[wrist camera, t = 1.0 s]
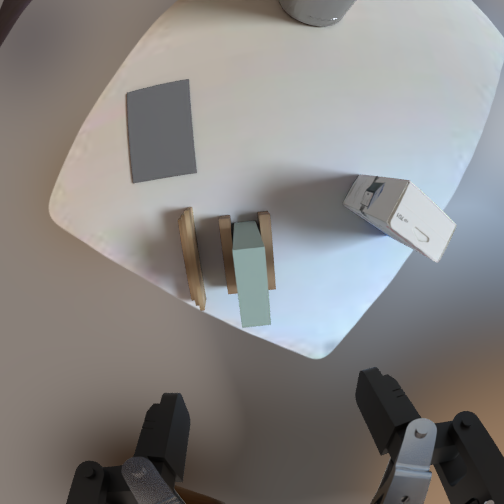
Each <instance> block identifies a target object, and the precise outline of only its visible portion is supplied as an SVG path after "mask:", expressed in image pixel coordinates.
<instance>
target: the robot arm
mask: <svg viewBox="0 0 504 504" xmlns="http://www.w3.org/2000/svg"><path fill="white" fill-rule="evenodd" d="M279 1H280V4H281V6H282V8H283V9H284V10H285V11H286V12H287V13H288V14H289V15H290V16H292V17H293V18H295V19H297V20H299V21H301V22H303V23H306V24H309V25H314V26H330V25H333V24H336V23H337V22H339V21H340V20H341V19H342V18H343V16H344V15H345V14H346V12H347V11H348V10H349V9H350V7H351V6H352V5H353V4H354V3H355V1H356V0H279ZM355 396H356V402H357V405H358V407H359V409H360V411H361V413H362V416H363V418H364V420H365V422H366V424H367V426H368V429H369V431H370V433H371V435H372V437H373V439H374V442H375V444H376V446H377V448H378V450H379V453H380V455H384V454H387V453H389V454H390V456H391V458H390V460H389V463H388V465H387V468H386V471H385V473H384V476H383V478H382V481H381V483H380V486H379V488H378V490H377V492H376V494H375V496H374V497H373V499H372V501H371V503H370V504H423V503H424V501H425V498H426V494H427V491H428V487H429V484H430V481H431V476H432V472H431V471H429V468H430V465H432V464H433V465H434V467H435V469H436V472H437V474H438V476H439V478H440V480H441V483H442V485H443V487H444V490H445V492H446V494H447V496H448V499H449V501H450V504H504V457H503V456H502V454H501V452H500V451H499V449H498V447H497V446H496V444H495V443H494V441H493V439H492V438H491V436H490V435H489V433H488V432H487V430H486V429H485V427H484V426H483V424H482V423H481V421H480V420H479V418H478V417H477V416H476V415H475V414H474V413H472V412H469V411H463V412H460V413H458V414H457V415H456V416H455V417H454V419H453V421H448V422H443V423H433V422H432V421H431V420H429V419H425V418H421V416H420V415H419V414H418V412H417V411H416V409H415V407H414V406H413V404H412V403H411V402H410V400H409V399H408V397H407V396H406V395H405V392H404V391H403V390H402V389H401V387H400V385H399V384H398V382H397V381H396V380H395V379H394V378H392V377H391V376H389V375H384V376H383V375H382V374H381V372H380V371H379V369H378V368H377V367H373V368H369V369H366V370H362V371H360V373H359V377H358V383H357V388H356V394H355ZM142 428H143V429H142V430H141V433H140V437H139V440H138V444H137V447H136V450H135V454H134V456H133V457H132V458H130V459H128V460H127V461H126V462H125V463H124V464H123V465H121V466H114V467H102V466H101V465H100V464H98V463H97V462H94V461H85V462H83V463H81V464H80V465H79V466H78V467H77V469H76V472H75V475H74V478H73V482H72V485H71V488H70V492H69V495H68V499H67V503H66V504H185V503H184V501H183V500H182V499H181V498H180V496H179V495H178V494H177V492H176V491H175V490H174V485H175V482H183V476H184V468H185V459H186V452H187V445H188V437H189V430H190V416H189V412H188V410H187V408H186V405H185V403H184V400H183V397H182V395H181V394H180V393H164V394H163V395H162V398H161V402H160V404H153V405H152V406H151V407H150V409H149V410H148V411H147V413H146V417H145V422H144V424H143V426H142Z"/></svg>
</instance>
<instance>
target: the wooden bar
mask: <svg viewBox="0 0 504 504" xmlns="http://www.w3.org/2000/svg"><path fill="white" fill-rule="evenodd" d="M178 224H179V231H180V237H181V244H182V250H183V256H184V262H185V267H186V273H187V278H188V284H189V289H190V294H191V299H192V301H193V300H195V302H196V306H197V305H199V306H200V310H201V311H203V310H205V304H206V295H205V289H204V283H203V277H202V271H201V265H200V259H199V252H198V246H197V239H196V232H195V225H194V217H193V210H192V207H188V208H187V209H186V210H185V211H184V213H183V214H182V215H181V217H180V218H179V219H178Z"/></svg>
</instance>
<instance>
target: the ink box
mask: <svg viewBox="0 0 504 504" xmlns="http://www.w3.org/2000/svg"><path fill="white" fill-rule="evenodd" d="M343 205H344V206H345V207H346V208H348V209H349V210H351V211H352V212H354V213H355V214H357V215H359V216H360V217H361V218H363V219H364V220H366V221H367V222H369V223H370V224H372V225H373V226H375V227H376V228H377V229H379V230H380V231H382V232H383V233H385V234H386V235H387V236H389V237H391V238H393V239H395V240H397V241H399V242H400V243H402V244H404V245H406V246H408V247H410V248H412V249H414V250H415V251H417V252H419V253H421V254H423V255H425V256H427V257H428V258H430V259H432V260H433V261H434V262H439V261H440V259H441V257H442V256H443V254H444V252H445V250H446V248H447V246H448V244H449V241H450V240H451V237H452V235H453V233H454V231H455V228H456V224H455V223H454V222H453V221H452V220H451V219H450V218H449V217H448V216H447V215H446V214H445V213H444V212H443V211H442V210H441V209H440V208H439V207H438V206H437V205H436V204H435V203H434V202H433V201H432V200H431V199H430V198H429V197H428V196H427V195H426V194H424V193H423V192H422V191H421V190H420V189H419V188H418V187H417V186H416V185H414V184H413V183H412V182H411V181H410V180H402V179H395V178H386V177H378V176H370V175H359V176H358V178H357V179H356V180H355V182H354V184H353V185H352V187H351V189H350V190H349V192H348V194H347V196H346V198H345V200H344V202H343Z"/></svg>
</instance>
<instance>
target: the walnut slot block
mask: <svg viewBox="0 0 504 504" xmlns="http://www.w3.org/2000/svg"><path fill="white" fill-rule="evenodd" d="M258 222H259V233H260V235H261V238H262V241H263V243H264V246H265V256H266V268H267V280H268V290H273V289H276V286H275V271H274V258H273V245H272V232H271V220H270V214H269V212H268V211H265V212H258ZM219 228H220V236H221V244H222V252H223V259H224V267H225V274H226V281H227V289H228V294H236V293H238V291H237V283H236V275H235V267H234V259H233V251H232V249H233V238H232V229H231V220H230V215H226V216H220V217H219Z"/></svg>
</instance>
